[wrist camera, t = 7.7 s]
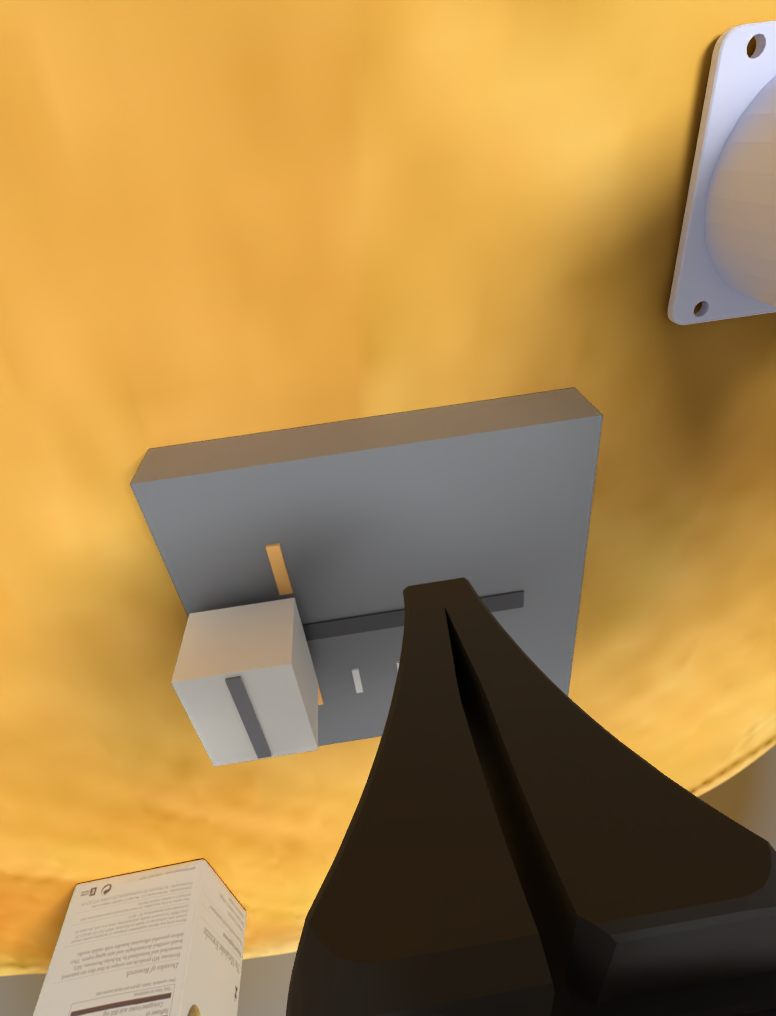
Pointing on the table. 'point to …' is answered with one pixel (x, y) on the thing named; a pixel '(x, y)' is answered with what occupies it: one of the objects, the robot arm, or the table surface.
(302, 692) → the fader knob
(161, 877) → the supplement box
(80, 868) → the table surface
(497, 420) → the slide fader panel
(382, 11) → the table surface
